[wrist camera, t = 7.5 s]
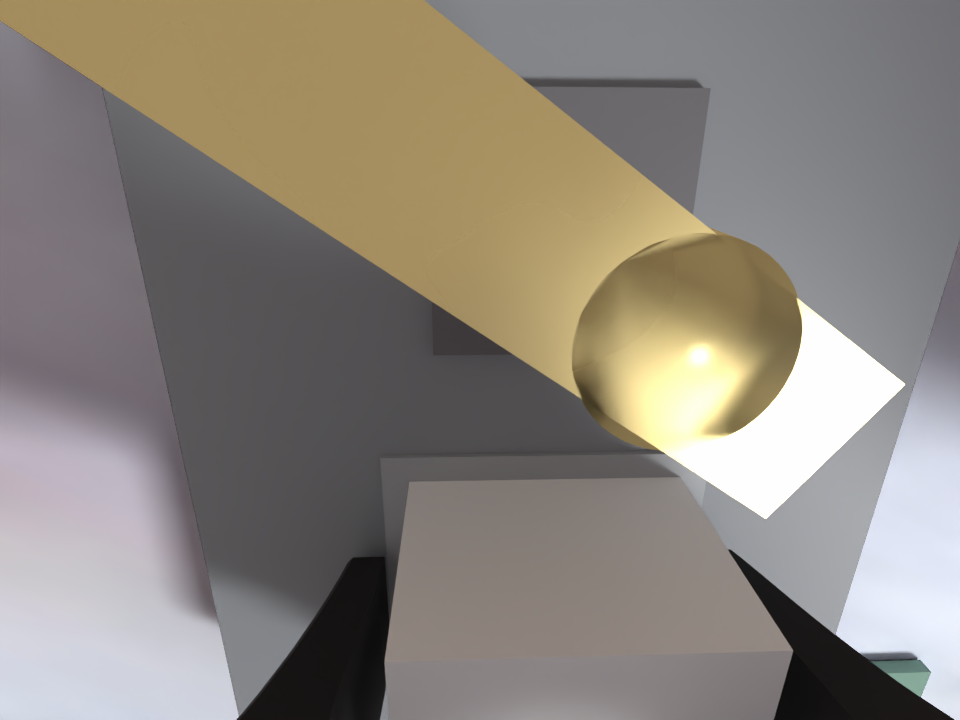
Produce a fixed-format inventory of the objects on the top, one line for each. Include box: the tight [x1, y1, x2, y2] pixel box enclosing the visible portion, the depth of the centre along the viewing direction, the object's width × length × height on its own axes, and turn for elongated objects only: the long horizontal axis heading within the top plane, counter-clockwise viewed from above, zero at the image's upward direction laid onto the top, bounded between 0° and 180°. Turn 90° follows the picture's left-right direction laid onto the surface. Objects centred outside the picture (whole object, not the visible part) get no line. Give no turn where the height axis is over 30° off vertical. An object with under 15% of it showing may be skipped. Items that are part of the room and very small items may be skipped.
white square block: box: [384, 477, 793, 720], centre depth 10 cm, size 5×5×4 cm
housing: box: [102, 0, 960, 720], centre depth 11 cm, size 13×16×3 cm
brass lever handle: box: [0, 0, 905, 518], centre depth 6 cm, size 2×8×5 cm, turn 55°
